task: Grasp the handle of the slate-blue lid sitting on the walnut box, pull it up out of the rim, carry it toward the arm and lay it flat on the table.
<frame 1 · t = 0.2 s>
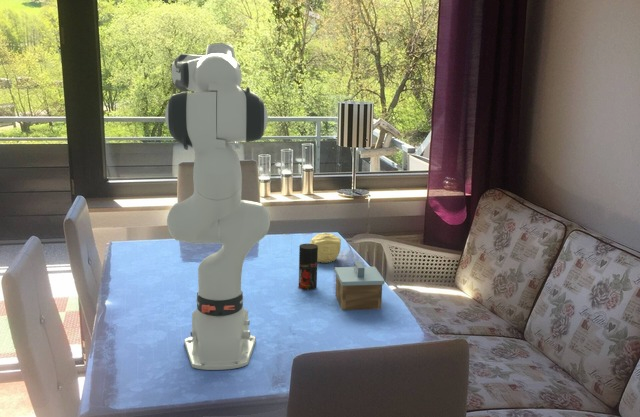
hand: (221, 148, 189), 48 cm above the table, tool pointing down, fingers open, 8 cm apart
deodorant: (307, 290, 211), on the table
box: (357, 304, 199), on the table
lid: (358, 277, 197), point 9 cm above the table, touching box
sculpture: (324, 260, 241), on the table
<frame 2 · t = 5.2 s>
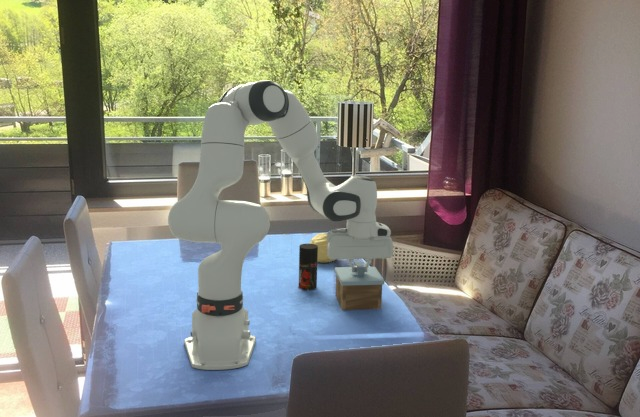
hand: (359, 271, 196), 11 cm above the table, tool pointing down, fingers closed on lid
lid: (358, 277, 197), point 9 cm above the table, touching box, gripper
everything else where it was.
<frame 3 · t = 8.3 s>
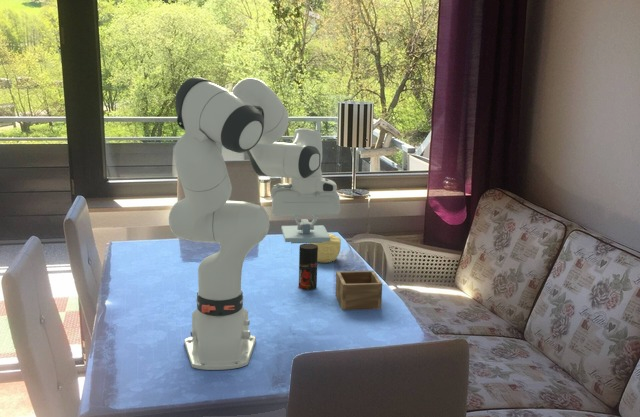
hand: (305, 229, 190), 25 cm above the table, tool pointing down, fingers closed on lid
lid: (305, 235, 190), point 23 cm above the table, touching gripper
everything else where it was.
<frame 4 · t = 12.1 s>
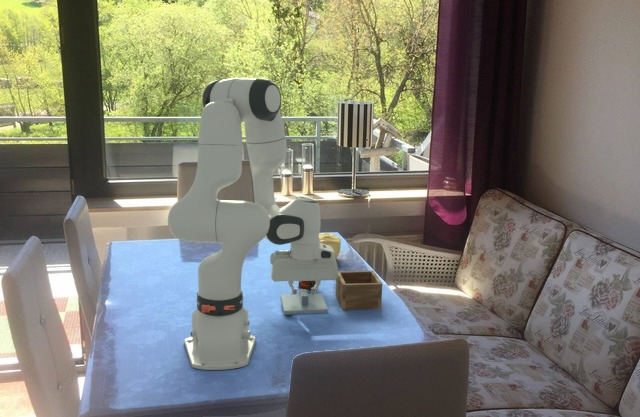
hand: (304, 293, 195), 5 cm above the table, tool pointing down, fingers open, 5 cm apart
lid: (303, 305, 196), point 1 cm above the table
everything else where it was.
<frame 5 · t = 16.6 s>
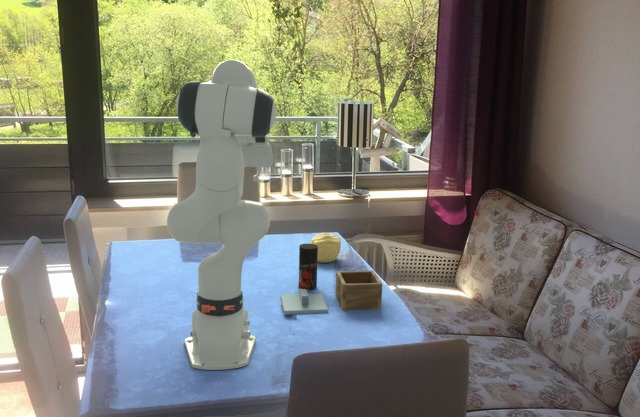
hand: (240, 181, 196), 37 cm above the table, tool pointing down, fingers open, 8 cm apart
nothing on the table moved.
at the end: lid inside the target area (0.2 cm from its centre), point 0.7 cm above the table; lid tilted 0°; the gripper is holding nothing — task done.
